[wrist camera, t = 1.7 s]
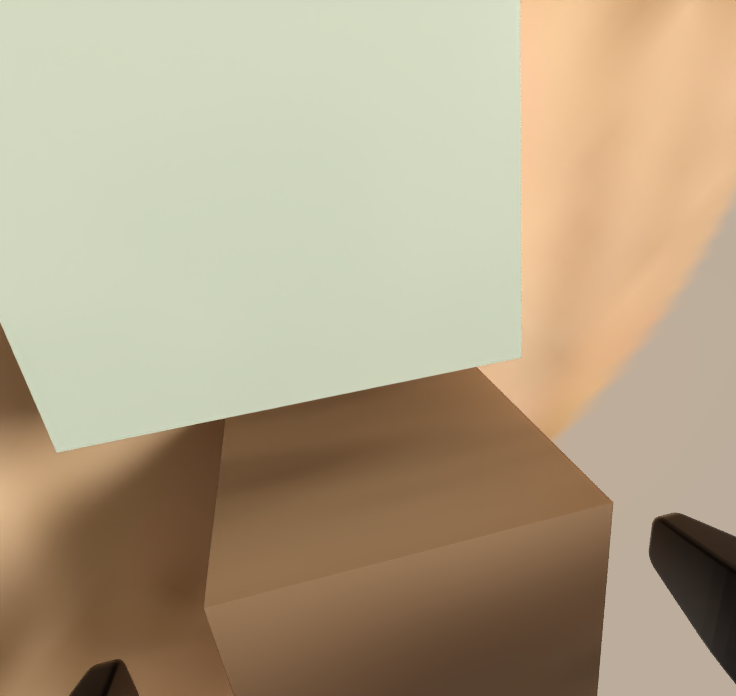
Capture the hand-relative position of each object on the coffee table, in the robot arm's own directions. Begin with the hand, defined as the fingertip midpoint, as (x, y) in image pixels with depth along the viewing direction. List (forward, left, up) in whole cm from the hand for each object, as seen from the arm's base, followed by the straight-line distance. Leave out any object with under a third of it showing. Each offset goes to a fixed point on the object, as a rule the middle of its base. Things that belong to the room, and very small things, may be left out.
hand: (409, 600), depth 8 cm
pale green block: (+7, +1, -3) cm, 8 cm away
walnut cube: (0, 0, -4) cm, 4 cm away
